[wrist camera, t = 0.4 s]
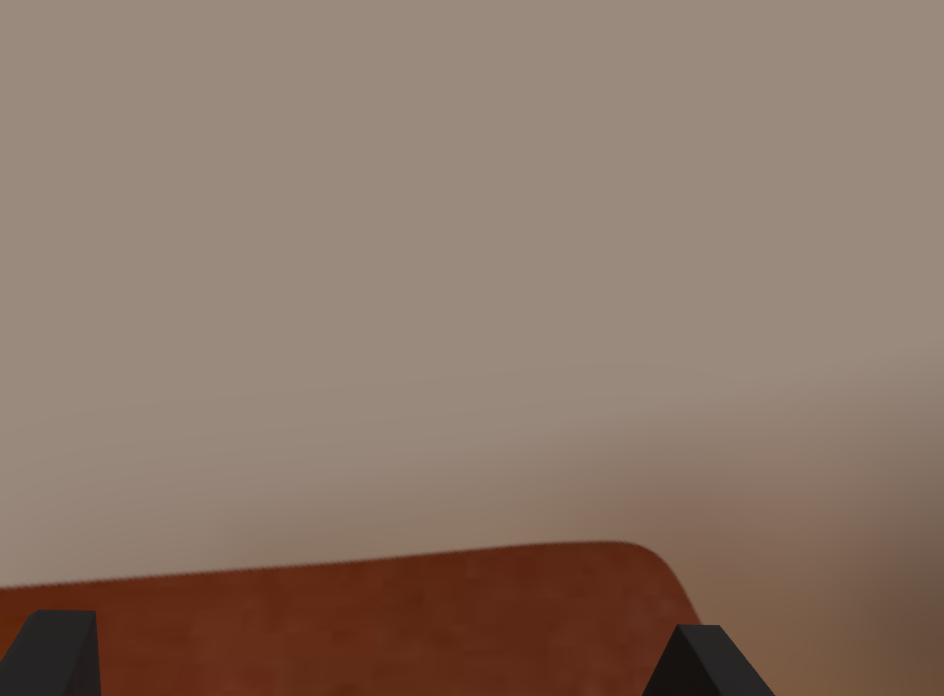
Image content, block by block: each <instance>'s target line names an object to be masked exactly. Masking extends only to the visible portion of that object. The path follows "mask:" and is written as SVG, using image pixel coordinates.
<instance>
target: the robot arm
mask: <svg viewBox="0 0 944 696" xmlns="http://www.w3.org/2000/svg"><path fill="white" fill-rule="evenodd" d="M0 696H101V686H100V670H99V655H98V640H97V624H96V611H70V610H37V611H36V612H34V613H33V614H31V615H30V616H28V618H27V619H26V621H25V623H24V625H23V626H22V628H21V630H20V631H19V633H18V635H17V637H16V638H15V640H14V641H13V643H12V645H11V646H10V648H9V650H8V651H7V653H6V654H5V656H4V657H3V659H2V661H1V662H0ZM642 696H775V695H774V694H773V692H772V691H771V690H770V688H769V687H768V686H767V685H766V684H765V682H764V681H763V680H762V678H761V677H760V676H759V675H758V673H757V672H756V671H755V669H754V668H753V667H752V666H751V664H750V663H749V662H748V660H747V659H746V658H745V657H744V655H743V654H742V653H741V652H740V650H739V649H738V648H737V647H736V645H735V644H734V643H733V642H732V640H731V639H730V638H729V637H728V635H727V634H726V633H725V632H724V630H723V629H722V628H721V627H720V625H681V624H677V626H676V628H675V630H674V632H673V634H672V636H671V638H670V640H669V642H668V644H667V646H666V648H665V650H664V652H663V654H662V656H661V658H660V660H659V662H658V664H657V666H656V668H655V670H654V672H653V674H652V676H651V678H650V680H649V682H648V684H647V686H646V688H645V690H644V692H643V694H642Z"/></svg>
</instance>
